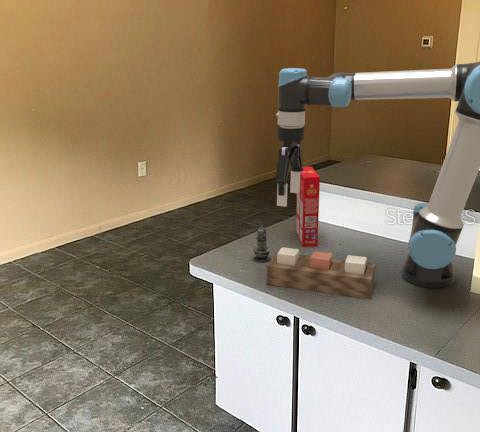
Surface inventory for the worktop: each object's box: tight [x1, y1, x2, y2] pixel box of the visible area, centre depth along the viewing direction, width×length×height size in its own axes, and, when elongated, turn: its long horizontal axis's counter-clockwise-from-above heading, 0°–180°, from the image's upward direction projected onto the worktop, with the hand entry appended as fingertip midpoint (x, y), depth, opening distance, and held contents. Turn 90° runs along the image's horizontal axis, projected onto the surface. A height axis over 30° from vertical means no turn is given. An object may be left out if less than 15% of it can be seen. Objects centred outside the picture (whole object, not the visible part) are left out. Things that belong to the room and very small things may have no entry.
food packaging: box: [295, 166, 321, 248], centre depth 190 cm, size 15×5×25 cm, turn 3°
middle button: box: [310, 250, 333, 270], centre depth 157 cm, size 5×5×4 cm
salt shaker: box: [252, 224, 271, 263], centre depth 175 cm, size 6×6×12 cm
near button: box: [345, 254, 368, 275], centre depth 154 cm, size 5×5×4 cm
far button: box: [276, 246, 300, 266], centre depth 161 cm, size 5×5×4 cm
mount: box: [266, 251, 376, 300], centre depth 159 cm, size 30×11×6 cm, turn 71°
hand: (288, 199), depth 156 cm, fingers open, 13 cm apart
